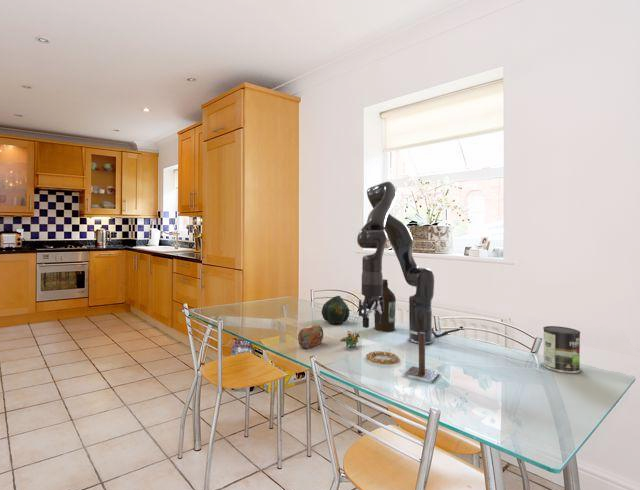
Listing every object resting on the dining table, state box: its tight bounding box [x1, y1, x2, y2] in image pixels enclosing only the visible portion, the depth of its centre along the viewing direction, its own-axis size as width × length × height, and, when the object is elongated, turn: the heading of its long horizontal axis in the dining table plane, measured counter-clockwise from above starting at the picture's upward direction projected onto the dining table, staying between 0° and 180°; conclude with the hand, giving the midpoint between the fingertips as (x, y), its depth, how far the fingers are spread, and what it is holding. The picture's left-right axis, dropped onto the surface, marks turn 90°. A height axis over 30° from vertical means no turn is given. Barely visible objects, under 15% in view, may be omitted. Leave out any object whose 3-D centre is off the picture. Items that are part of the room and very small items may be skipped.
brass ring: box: [365, 350, 400, 365], centre depth 151 cm, size 12×12×2 cm
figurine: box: [339, 330, 361, 349], centre depth 166 cm, size 3×12×8 cm, turn 121°
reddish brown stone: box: [297, 324, 324, 349], centre depth 172 cm, size 15×3×8 cm, turn 131°
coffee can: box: [542, 325, 581, 374], centre depth 141 cm, size 10×10×14 cm
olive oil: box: [373, 278, 397, 332], centre depth 197 cm, size 11×11×25 cm
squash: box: [321, 295, 350, 325], centre depth 212 cm, size 14×15×15 cm
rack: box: [404, 332, 440, 384], centre depth 136 cm, size 9×9×15 cm
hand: (371, 325), depth 148 cm, fingers open, 8 cm apart
